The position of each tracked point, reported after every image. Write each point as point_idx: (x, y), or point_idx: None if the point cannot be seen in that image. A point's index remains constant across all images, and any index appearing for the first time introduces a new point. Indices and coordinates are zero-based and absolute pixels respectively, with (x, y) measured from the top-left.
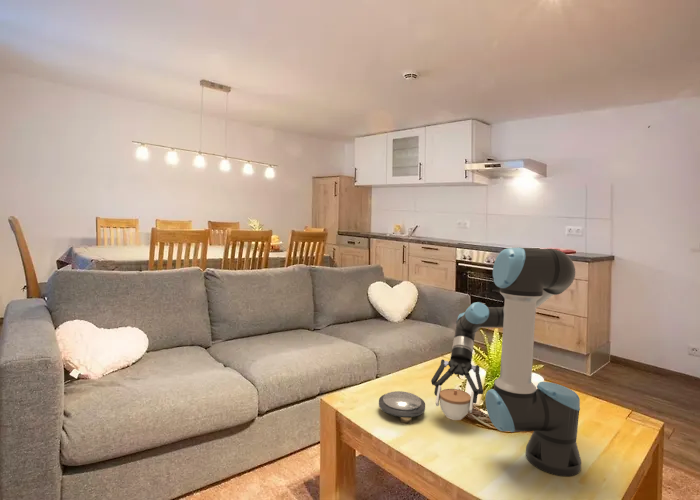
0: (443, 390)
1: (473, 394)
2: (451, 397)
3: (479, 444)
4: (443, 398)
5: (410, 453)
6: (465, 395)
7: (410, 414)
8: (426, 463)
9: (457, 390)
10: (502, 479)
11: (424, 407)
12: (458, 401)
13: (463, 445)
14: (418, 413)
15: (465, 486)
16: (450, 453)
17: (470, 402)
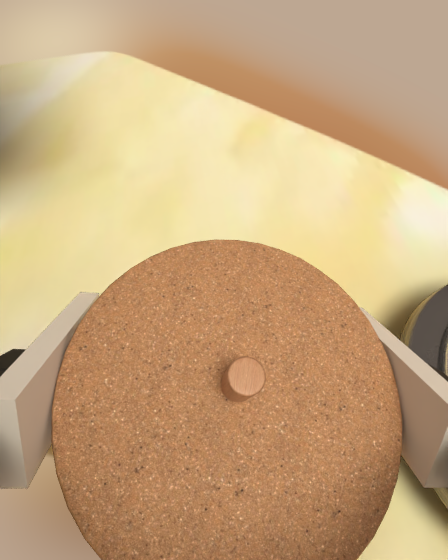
0: (386, 450)
1: (3, 374)
2: (260, 286)
3: (76, 262)
4: (322, 275)
5: (313, 139)
6: (119, 407)
7: (434, 293)
8: (255, 113)
9: (231, 545)
10: (25, 104)
11: None
12: (187, 244)
13: (148, 232)
14: (408, 329)
15: (139, 64)
16: (193, 172)
17: (73, 319)
